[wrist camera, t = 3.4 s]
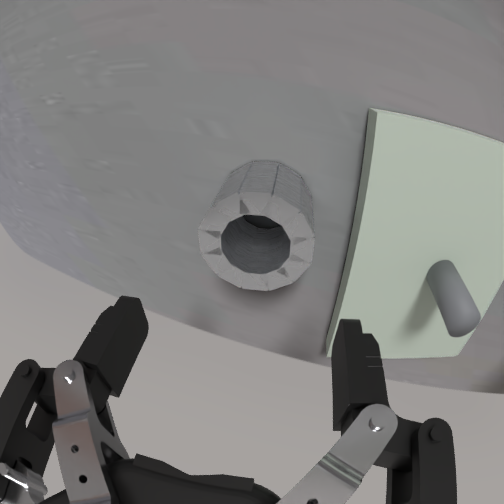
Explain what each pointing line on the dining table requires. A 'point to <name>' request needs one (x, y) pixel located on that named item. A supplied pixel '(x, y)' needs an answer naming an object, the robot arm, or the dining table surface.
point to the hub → (259, 239)
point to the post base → (423, 236)
